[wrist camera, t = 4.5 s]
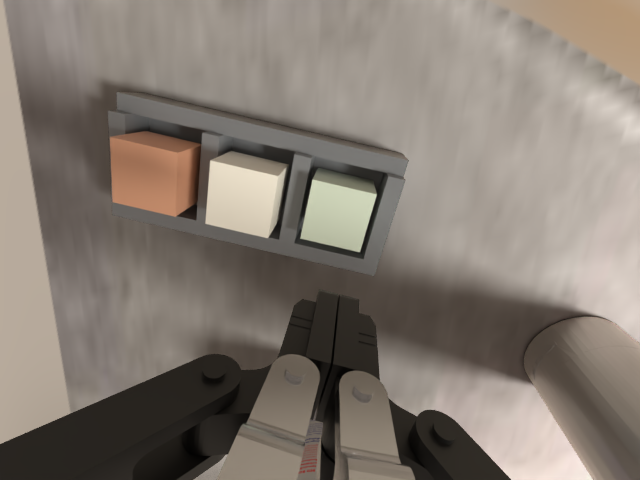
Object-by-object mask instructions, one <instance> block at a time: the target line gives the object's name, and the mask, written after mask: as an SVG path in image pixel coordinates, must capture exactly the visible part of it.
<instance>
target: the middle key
mask: <svg viewBox="0 0 640 480" xmlns="http://www.w3.org/2000/svg"><path fill="white" fill-rule="evenodd" d="M288 167H289V164H285V163H281V162H276V161H272V160H268V159H264V158H259V157H255V156H251V155H247V154H242V153H238V152H234V151H230V152H228V153H225V154H223V155H221V156H219V157H217V158H214V159H212V160H210V171H209V183H208V196H207V209H206V221H205V224H209V225H213V226H217V227H221V228H226V229H230V230H234V231H239V232H243V233H247V234H251V235H256V236H260V237H264V238H268V237H269V236H270V234H271V232H272V231H273V229H274V227H275V226H276V224H277V222H278V220H279V219H280V213H281V207H282V202H283V196H284V190H285V185H286V179H287V173H288Z"/></svg>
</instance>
